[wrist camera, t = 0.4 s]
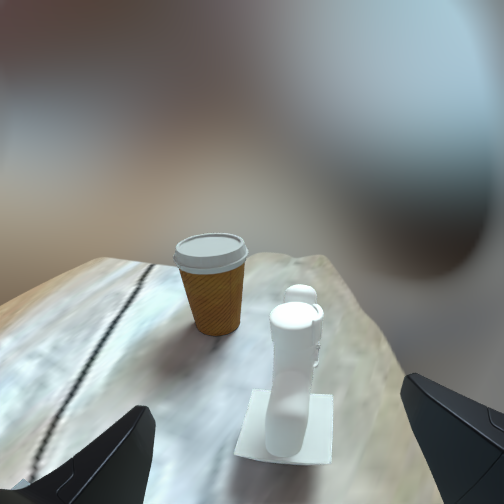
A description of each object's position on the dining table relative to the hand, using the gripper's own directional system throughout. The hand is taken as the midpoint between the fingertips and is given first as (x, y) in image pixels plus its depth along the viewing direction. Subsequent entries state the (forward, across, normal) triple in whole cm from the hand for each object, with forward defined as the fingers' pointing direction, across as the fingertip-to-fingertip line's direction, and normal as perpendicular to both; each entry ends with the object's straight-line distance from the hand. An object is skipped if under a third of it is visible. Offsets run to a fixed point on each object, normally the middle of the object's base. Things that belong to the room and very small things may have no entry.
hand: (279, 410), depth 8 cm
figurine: (+9, -1, +15) cm, 18 cm away
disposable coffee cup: (+29, +7, +12) cm, 32 cm away
